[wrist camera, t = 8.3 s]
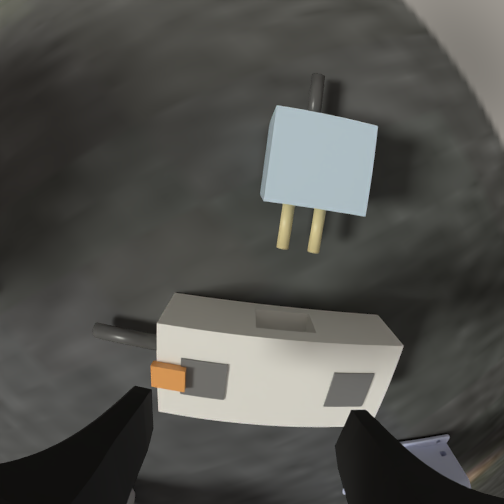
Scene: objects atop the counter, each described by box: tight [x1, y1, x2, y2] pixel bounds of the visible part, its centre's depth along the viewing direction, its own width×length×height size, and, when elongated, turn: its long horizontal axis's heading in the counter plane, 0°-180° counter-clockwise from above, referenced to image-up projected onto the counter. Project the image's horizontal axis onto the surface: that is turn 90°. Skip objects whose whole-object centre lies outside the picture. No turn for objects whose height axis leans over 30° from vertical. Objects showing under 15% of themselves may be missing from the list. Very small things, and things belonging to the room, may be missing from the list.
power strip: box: [93, 293, 404, 427], centre depth 18 cm, size 6×18×5 cm, turn 82°
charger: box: [260, 73, 378, 253], centre depth 15 cm, size 9×4×5 cm, turn 172°
